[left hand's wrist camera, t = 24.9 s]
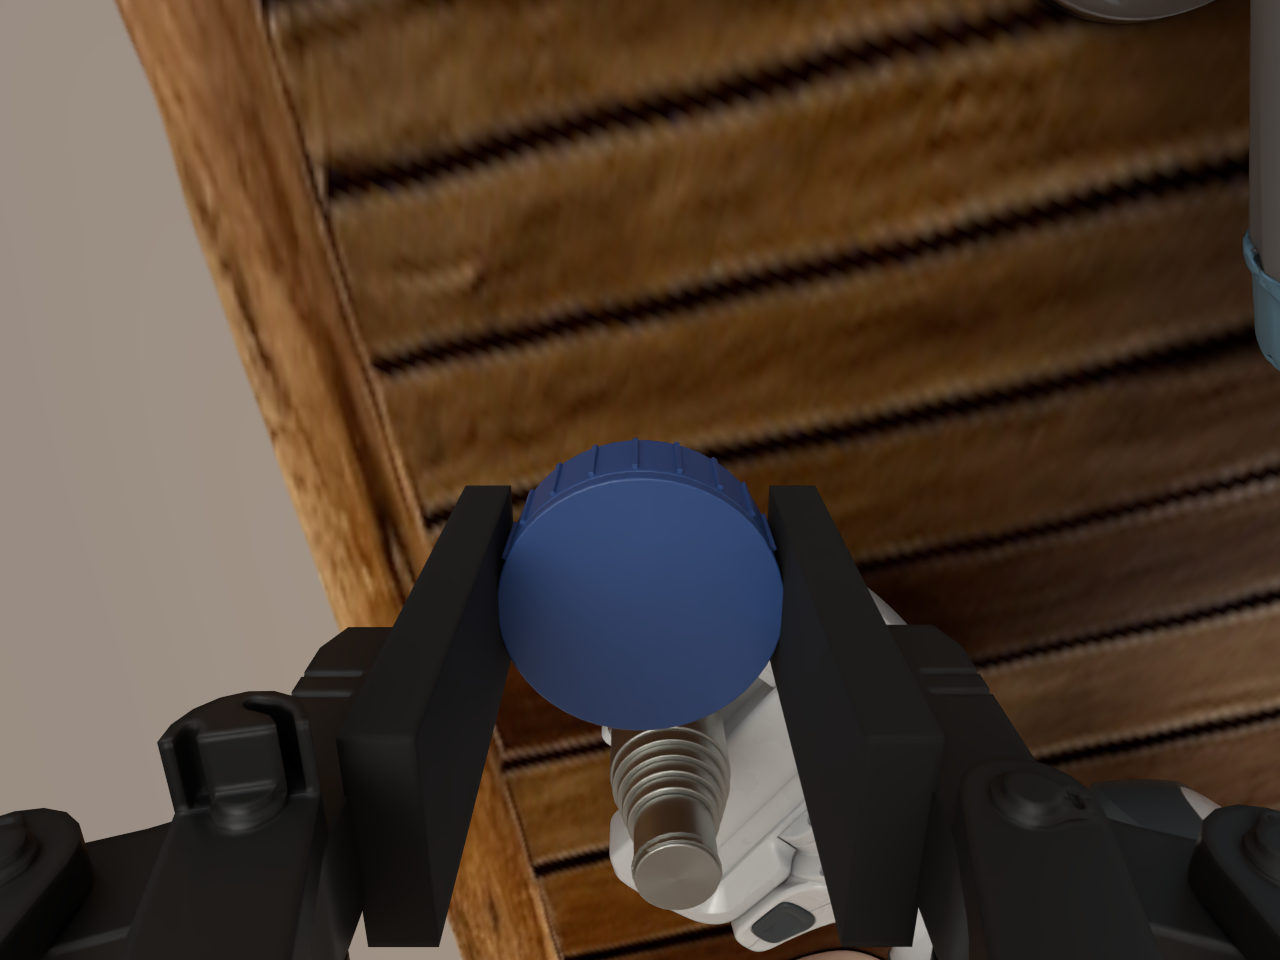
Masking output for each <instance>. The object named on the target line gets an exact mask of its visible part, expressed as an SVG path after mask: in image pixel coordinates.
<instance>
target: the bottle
mask: <svg viewBox="0 0 1280 960" xmlns="http://www.w3.org/2000/svg"><path fill="white" fill-rule="evenodd" d="M730 778H731V770H730V763H729V757H728V751H727V745H726V738H725V732H724V726H723V720H722V714H721V709H720V710H719V711H717V712H715V713H713V714H711V715H708V716H706V717H704V718H702V719H699V720H697V721H694V722H691V723H688V724H685V725H681V726H676V727H672V728H666V729H658V730H624V729H615V728H611V756H610V782H611V786H612V793H613V798H614V800H615V803H616V805H617V807H618V810H619V813H620V815H621V817H622V819H623V821H624V824H625V826H626V828H627V830H628V833H629V836H630V838H631V840H632V841H633V843H634V856H633V861H632V865H631V871H632V878H633V880H634V883H635V886H636V888H637V890H638V892H639V893H640V895H641V896H642V897H643V898H644V899H645V900H646V901H648V902H649V903H651V904H652V905H654V906H657V907H659V908H663V909H668V910H684V909H689V908H693V907H696V906H698V905H700V904H702V903H704V902H705V901H707V900H708V899H709V898H710V897H711V896H712V895H713V894H714V892H715V891H716V889H717V887H718V885H719V884H720V881H721V878H722V864H721V861H720V859H719V856H718V850H717V843H716V837H717V834H718V832H719V828H720V823H721V821H722V818H723V813H724V810H725V807H726V803H727V799H728V796H729V792H730Z"/></svg>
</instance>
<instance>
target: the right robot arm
mask: <svg viewBox="0 0 1280 960" xmlns="http://www.w3.org/2000/svg"><path fill="white" fill-rule="evenodd" d="M868 590H869V592H870V594H871V596H872V597H873V599H874V601H875V603H876V605H877V607H878V609H879V611H880V613H881V615H882V617H883V619H884V621H885V623H886V625H907V623H906V622H905V621H904V620H903V619H902V618H901V617H900V616H899V615H898V614H897V613H896V612H895V611H894V610H893V609H892V608H891V607H890V606H889V605H887V604H886V603H885V602H884V601H883V600H882V599H881V598H880V597H879V596H877V595H876V594H875V593H874V592H873V591H871V590H870V589H869V588H868ZM721 714H722V720H723V726H724V732H725V738H726V745H727V751H728V757H729V763H730V770H731V778H730V792H729V796H728V799H727V803H726V807H725V810H724V813H723V818H722V821H721V823H720V828H719V832H718V834H717V837H716V843H717V850H718V856H719V859H720V861H721V864H722V878H721V881H720V884H719V885H718V887H717V889H716V891H715V892H714V894H713V895H712V896H711V897H710V898H709V899H708V900H707V901H705V902H704V903H702V904H700V905H698V906H696V907H693V908H689V909H684V910H672V911H674V912H676V913H678V914H680V915H682V916H685V917H687V918H689V919H692V920H694V921H698V922H701V923H706V924H723V923H727V922H730V921H731V924H732V928H733V932H734V935H735V938H736V940H737V941H738V942H739V943H740V944H742V945H743V946H745V947H746V948H748V949H750V950H753V951H758V952H760V951H765V950H768V949H771V948H773V947H775V946H777V945H779V944H782V943H784V942H786V941H788V940H790V939H792V938H794V937H796V936H799V935H801V934H803V933H806V932H808V931H811V930H813V929H816V928H819V927H821V926H825V925H828V924H831V923H835V918H834V914H833V910H832V906H831V902H830V898H829V894H828V890H827V886H826V882H825V878H824V874H823V870H822V866H821V862H820V858H819V854H818V851H817V847H816V843H815V839H814V835H813V831H812V827H811V823H810V819H809V815H808V811H807V807H806V803H805V799H804V795H803V791H802V787H801V783H800V779H799V775H798V771H797V767H796V763H795V759H794V755H793V751H792V747H791V743H790V739H789V735H788V731H787V727H786V723H785V719H784V715H783V711H782V707H781V703H780V700H779V696H778V692H777V688H776V684H775V680H774V676H773V672H772V668H771V664H770V660H769V662H768V664H767V666H766V667H765V668H764V670H763V671H762V673H761V674H760V675H759V677H758V678H757V679H756V680H755V681H754V682H753V684H752V685H751V686H750V687H749V688H748V689H747V690H746V691H745V692H744V693H742V694H741V695H740V696H739V697H738V698H736V699H735V700H734V701H733V702H731V703H730V704H728V705H726V706H725V707H723V708H722V709H721ZM602 737H603V739H604V741H605V742H606V743H607V744H609V745H610V746H611V728H610V727H605V726H602ZM1088 790H1089V791H1090V792H1091V793H1093V795H1094V796H1095V798H1096V799H1097V801H1098V802H1099V804H1100V805H1101V807H1102V808H1103V810H1104V811H1105V813H1106V816H1107V817H1108V818H1110V819H1114V820H1117V821H1120V822H1124V823H1127V824H1131V825H1134V826H1138V827H1143V828H1147V829H1152V830H1156V831H1160V832H1165V833H1169V834H1174V835H1178V836H1183V837H1187V838H1191V839H1196V840H1197V837H1198V834H1199V831H1200V828H1201V824H1202V821H1203V819H1204V818H1206V817H1207V816H1208V815H1209V814H1210V813H1211V812H1212V811H1213V810H1214V809H1216V808H1222V807H1221V806H1219V805H1218V804H1216V803H1214V802H1213V801H1211V800H1210V799H1208V798H1206V797H1205V796H1203V795H1201V794H1199V793H1197V792H1195V791H1193V790H1192V789H1191V788H1189V787H1188V786H1186V785H1185V784H1183V783H1181V782H1176V781H1167V780H1149V779H1132V780H1115V781H1106V782H1098V783H1093V784H1092V786H1091V787H1090V788H1089V789H1088ZM633 856H634V843H633V841H632V840H631V838H630V836H629V833H628V830H627V828H626V826H625V824H624V821H623V819H622V817H621V815H620V813H619V810H617V811H616V812H615V814H614V815H613V817H612V819H611V824H610V859H611V863H612V866H613V869H614V871H615V874H616V875H617V877H618V878H619V879H620V880H621V881H622V882H624V883H625V884H626V885H628V886H629V887H631V888H632V889H634V890H636V891H637V892H638V890H637V888H636V886H635V883H634V880H633V878H632V871H631V865H632V861H633ZM931 952H932V943H931V940H930V938H929V935H928V932H927V929H926V927H925V924H924V921H923V918H922V916H921V913H920V910H919V908H918V914H917V920H916V927H915V933H914V939H913V945H912V947H892V949H890V950H889V951H888V960H930V958H931Z"/></svg>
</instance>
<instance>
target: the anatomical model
mask: <svg viewBox="0 0 1280 960" xmlns="http://www.w3.org/2000/svg"><path fill="white" fill-rule="evenodd" d="M797 960H880V959H877V958H875V957H873V956H870V955H867V954H864V953H861V952H856V951H848V950H835V951H827V952H822V953H817V954H813V955H809V956H806V957H802V958H799V959H797Z"/></svg>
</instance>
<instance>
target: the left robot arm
mask: <svg viewBox="0 0 1280 960" xmlns="http://www.w3.org/2000/svg"><path fill="white" fill-rule="evenodd" d="M1043 1H1044V2H1046V3H1048V4H1049V5H1051V6H1052V7H1054V8H1056V9H1058V10H1060V11H1063V12H1065V13H1067V14H1069V15H1072V16H1075V17H1078V18H1081V19H1084V20H1089V21H1095V22H1100V23H1111V24H1129V23H1139V22H1146V21H1152V20H1156V19H1160V18H1164V17H1168V16H1172V15H1176V14H1180V13H1184V12H1187V11H1190V10H1193V9H1195V8H1198V7H1201V6H1203V5H1205V4H1208V3H1210V2H1212V1H1214V0H1043ZM1243 255H1244V258H1245V262H1246V265H1247V267H1248V268H1249V270H1250V271H1251V273H1252V287H1253V304H1254V321H1255V333H1256V337H1257V341H1258V344H1259V347H1260V349H1261V351H1262V353H1263V355H1264V356H1265V358H1266V359H1267V360H1268V361H1269V362H1270V363H1271V364H1272V365H1273V366H1274V367H1275V368H1277V369H1278V370H1279V371H1280V0H1251V1H1250V129H1249V228H1248V230H1247V231H1246V233H1245V235H1244V236H1243ZM768 524H769V527H770V530H771V533H772V536H773V539H774V542H775V545H776V548H777V550H774V554H775V557H776V560H777V563H778V566H779V569H780V573H781V577H782V581H783V602H782V617H781V630H780V638H779V640H778V643H777V646H776V649H775V651H774V653H773V655H772V657H771V658H770V664H771V668H772V672H773V676H774V680H775V684H776V688H777V692H778V696H779V700H780V703H781V707H782V711H783V715H784V719H785V723H786V727H787V731H788V735H789V739H790V743H791V747H792V751H793V755H794V759H795V763H796V767H797V771H798V775H799V779H800V783H801V787H802V791H803V795H804V799H805V803H806V807H807V811H808V815H809V819H810V823H811V827H812V831H813V835H814V839H815V843H816V847H817V851H818V854H819V858H820V862H821V866H822V870H823V874H824V878H825V882H826V886H827V890H828V894H829V898H830V902H831V906H832V910H833V914H834V918H835V922H836V926H837V930H838V934H839V938H840V942H841V946H842V947H912V945H913V939H914V933H915V927H916V920H917V914H918V908H919V910H920V913H921V916H922V918H923V921H924V924H925V927H926V929H927V932H928V935H929V938H930V940H931V943H932V952H931V958H930V960H1280V812H1279V811H1276V810H1272V809H1269V808H1264V807H1255V806H1246V805H1233V806H1227V807H1222V808H1216V809H1214V810H1213V811H1212V812H1211V813H1210V814H1209V815H1208V816H1207V817H1206V818H1204V819H1203V821H1202V824H1201V828H1200V831H1199V834H1198V837H1197V840H1196V839H1191V838H1187V837H1183V836H1178V835H1174V834H1169V833H1165V832H1160V831H1156V830H1152V829H1147V828H1143V827H1138V826H1134V825H1131V824H1127V823H1124V822H1120V821H1117V820H1114V819H1110V818H1108V817H1107V816H1106V813H1105V811H1104V810H1103V808H1102V807H1101V805H1100V804H1099V802H1098V801H1097V799H1096V798H1095V796H1094V795H1093V793H1091V792H1090V791H1089V790H1088V789H1086V788H1085V787H1084V786H1083V785H1081V784H1080V783H1079V782H1078V781H1076V780H1075V779H1074V778H1073V777H1071V776H1069V775H1067V774H1065V773H1063V772H1061V771H1059V770H1057V769H1055V768H1053V767H1051V766H1049V765H1047V764H1043V763H1039V762H1036V761H1035V759H1034V758H1033V756H1032V754H1031V753H1030V751H1029V750H1028V748H1027V747H1026V745H1025V744H1024V742H1023V741H1022V739H1021V737H1020V736H1019V734H1018V733H1017V731H1016V730H1015V728H1014V727H1013V725H1012V723H1011V722H1010V720H1009V719H1008V717H1007V716H1006V714H1005V713H1004V711H1003V709H1002V708H1001V706H1000V705H999V703H998V702H997V700H996V699H995V697H994V696H993V694H990V692H989V688H988V686H987V685H986V683H985V682H984V680H983V678H982V677H981V675H980V674H977V669H976V668H975V666H974V664H973V663H972V661H971V660H970V658H969V657H968V655H967V654H966V652H965V651H964V649H963V647H962V646H961V645H960V644H959V643H957V642H956V641H955V640H953V639H952V638H950V637H949V636H948V635H946V634H945V633H943V632H942V631H941V630H939V629H938V628H937V627H935V626H934V625H886V623H885V621H884V619H883V617H882V615H881V613H880V611H879V609H878V607H877V605H876V603H875V601H874V599H873V597H872V596H871V594H870V592H869V590H868V588H867V586H866V584H865V582H864V580H863V578H862V576H861V574H860V572H859V570H858V568H857V566H856V565H855V563H854V561H853V559H852V557H851V555H850V553H849V551H848V549H847V547H846V545H845V543H844V541H843V539H842V537H841V535H840V534H839V532H838V530H837V528H836V526H835V524H834V522H833V520H832V518H831V516H830V514H829V512H828V510H827V508H826V506H825V504H824V502H823V501H822V499H821V497H820V495H819V493H818V491H817V489H816V487H815V486H770V488H769V505H768ZM512 526H513V512H512V495H511V486H465V488H464V490H463V492H462V494H461V496H460V498H459V500H458V502H457V504H456V506H455V507H454V509H453V511H452V513H451V515H450V517H449V519H448V521H447V523H446V525H445V527H444V529H443V531H442V533H441V535H440V537H439V539H438V540H437V542H436V544H435V546H434V548H433V550H432V552H431V554H430V556H429V558H428V560H427V562H426V564H425V566H424V568H423V570H422V571H421V573H420V575H419V577H418V579H417V581H416V583H415V585H414V587H413V589H412V591H411V593H410V595H409V597H408V599H407V601H406V603H405V604H404V606H403V608H402V610H401V612H400V614H399V616H398V618H397V620H396V622H395V624H394V626H393V627H348V628H347V629H345V630H344V631H343V632H341V633H340V634H338V635H337V636H336V637H334V638H333V639H332V640H330V641H329V642H327V643H326V644H325V645H323V646H322V647H321V648H320V649H319V650H318V652H317V653H316V655H315V657H314V658H313V660H312V661H311V663H310V664H309V666H308V667H307V669H306V671H305V675H304V677H301V678H300V680H299V681H298V683H297V685H296V686H295V688H294V689H293V691H292V696H291V695H287V694H283V693H280V692H276V691H248V692H243V693H239V694H235V695H230V696H226V697H221V698H218V699H216V700H214V701H211V702H209V703H206V704H204V705H202V706H199V707H197V708H195V709H193V710H191V711H190V712H188V713H187V714H186V715H184V716H183V717H181V718H180V719H178V720H177V721H176V722H174V723H173V724H171V725H170V727H169V728H168V729H167V731H166V732H165V733H164V734H163V736H162V737H161V738H160V739H159V741H158V742H157V743H158V747H159V751H160V755H161V759H162V763H163V767H164V771H165V775H166V779H167V783H168V787H169V791H170V795H171V799H172V803H173V807H174V811H175V815H174V817H173V820H172V822H169V823H166V824H162V825H159V826H155V827H152V828H149V829H145V830H141V831H136V832H132V833H127V834H123V835H118V836H114V837H109V838H105V839H101V840H96V841H92V842H87V843H85V841H84V838H83V835H82V832H81V828H80V825H79V823H78V822H77V821H76V820H75V819H73V818H72V817H71V816H70V815H69V814H68V813H67V812H63V811H57V810H52V809H46V808H40V809H31V810H23V811H14V812H11V813H8V814H5V815H2V816H0V960H350V958H349V952H348V949H349V946H350V944H351V941H352V938H353V935H354V932H355V930H356V927H357V924H358V922H359V919H360V916H361V913H362V911H363V917H364V923H365V929H366V936H367V942H368V947H439V944H440V940H441V936H442V932H443V928H444V924H445V920H446V916H447V912H448V908H449V904H450V900H451V896H452V892H453V889H454V885H455V881H456V877H457V873H458V869H459V865H460V861H461V857H462V853H463V849H464V845H465V841H466V837H467V833H468V829H469V825H470V821H471V817H472V813H473V809H474V805H475V801H476V797H477V793H478V789H479V785H480V781H481V777H482V773H483V769H484V765H485V761H486V757H487V753H488V749H489V745H490V741H491V737H492V733H493V730H494V726H495V722H496V718H497V714H498V710H499V706H500V702H501V698H502V694H503V690H504V686H505V682H506V678H507V674H508V670H509V666H510V662H511V657H510V655H509V654H508V652H507V649H506V647H505V644H504V642H503V639H502V636H501V632H500V622H499V608H498V584H499V580H500V575H501V571H502V568H503V565H504V562H505V560H504V559H502V555H503V552H504V549H505V546H506V543H507V540H508V538H509V535H510V532H511V529H512Z"/></svg>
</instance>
